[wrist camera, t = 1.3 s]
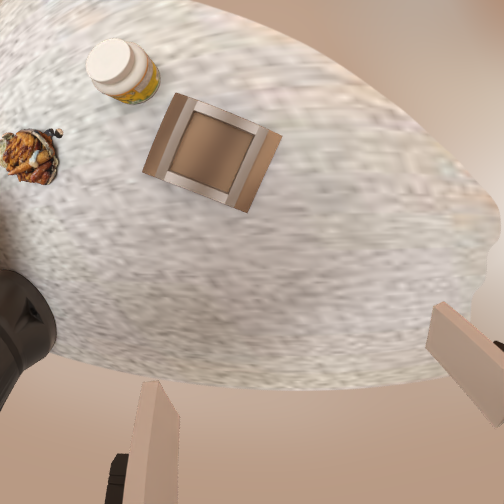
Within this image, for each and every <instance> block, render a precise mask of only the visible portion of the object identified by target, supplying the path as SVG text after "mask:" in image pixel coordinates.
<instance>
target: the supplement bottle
mask: <svg viewBox="0 0 504 504" xmlns="http://www.w3.org/2000/svg"><path fill="white" fill-rule="evenodd" d="M86 71H87V74H88V75H89V77H90V78H91V79H92V82H93V84H94V86H95V87H96V88H97V89H98V90H99V91H100V92H102V93H103V94H106V95H108V96H111V97H113V98H115V99H117V100H119V101H121V102H124V103H127V104H138V103H142V102H144V101H146V100H148V99H149V98H151V97H152V96H153V95H154V93H155V92H156V90H157V89H158V86H159V83H160V73H159V70H158V68H157V67H156V65H155V64H154V63H153V61H152V60H151V59H150V58H149V56H148V55H147V54H146V52H145V51H144V50H143V49H142V48H141V47H140V46H139V45H137V44H135V43H132V42H125V41H124V40H121V39H117V38H112V39H107V40H105V41H103V42H101V43H99V44H98V45H97V46H96V47H94V49H93V50H92V51H91V52H90V54H89V56H88V58H87V61H86Z"/></svg>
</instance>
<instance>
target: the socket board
mask: <svg viewBox="0 0 504 504" xmlns="http://www.w3.org/2000/svg"><path fill="white" fill-rule="evenodd" d="M281 138H282V136H281V135H279V134H277V133H275V132H273V131H271V130H268V129H266V128H264V127H262V126H260V125H257V124H255V123H253V122H251V121H248V120H246V119H244V118H241V117H239V116H237V115H234V114H232V113H229V112H227V111H224V110H222V109H219V108H217V107H214V106H212V105H209V104H206V103H204V102H201V101H198V100H196V99H193V98H190V97H187V96H184V95H181V94H179V93H175V95H174V97H173V99H172V101H171V103H170V105H169V107H168V110H167V112H166V114H165V116H164V119H163V121H162V123H161V125H160V128H159V130H158V132H157V135H156V137H155V140H154V142H153V145H152V147H151V150H150V152H149V155H148V157H147V160H146V163H145V165H144V168H143V171H142V172H143V173H145V174H148V175H151V176H154V177H156V178H159V179H161V180H164V181H167V182H169V183H172V184H175V185H177V186H180V187H182V188H185V189H188V190H190V191H193V192H195V193H198V194H200V195H203V196H205V197H208V198H211V199H213V200H216V201H218V202H221V203H223V204H226V205H228V206H231V207H233V208H236V209H238V210H241V211H243V212H246V213H247V212H248V210H249V208H250V206H251V204H252V201H253V199H254V197H255V195H256V193H257V190H258V188H259V186H260V184H261V182H262V179H263V177H264V175H265V173H266V171H267V168H268V166H269V164H270V162H271V160H272V158H273V155H274V153H275V151H276V149H277V147H278V145H279V143H280V140H281Z"/></svg>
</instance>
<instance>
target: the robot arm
mask: <svg viewBox="0 0 504 504" xmlns="http://www.w3.org/2000/svg"><path fill="white" fill-rule="evenodd" d="M55 340H56V326H55V322H54V318H53V316H52V313H51V311H50V309H49V307H48V305H47V303H46V301H45V300H44V298H43V297H42V295H41V294H40V293H39V291H38V290H37V289H36V288H35V287H34V286H33V285H32V284H31V283H30V282H29V281H28V280H27V279H25V278H24V277H23V276H21V275H19V274H18V273H16V272H13V271H10V270H0V411H1V409H2V407H3V405H4V403H5V402H6V399H7V398H8V396H9V394H10V392H11V391H12V389H13V387H14V385H15V384H16V382H17V380H18V378H19V377H20V375H21V374H22V372H23V371H24V370H26V369H27V368H29V367H30V366H32V365H34V364H35V363H37V362H38V361H40V360H41V359H43V358H44V357H46V355H47V354H48V353H49V351H50V350H51V348H52V347H53V345H54V343H55ZM425 348H426V349H427V350H428V351H429V352H430V353H431V355H432V356H433V357H434V358H435V359H436V360H437V361H438V362H439V363H440V365H441V366H442V367H443V368H444V369H445V370H446V371H447V372H448V374H449V375H450V376H451V377H452V378H453V379H454V380H455V381H456V383H457V384H458V385H459V386H460V387H461V388H462V390H463V391H464V392H465V393H466V394H467V396H468V397H469V398H470V399H471V400H472V401H473V403H474V404H475V405H476V406H477V407H478V409H479V410H480V411H481V412H482V413H483V415H484V416H485V417H486V419H487V420H488V421H489V422H490V424H491V425H492V426H493V427H494V429H497V428H498V427H499V426H500V425H502V424H503V423H504V344H503V343H500V342H498V341H494V342H492V341H491V340H489V339H488V338H487V337H486V336H485V335H484V334H482V333H481V332H480V331H479V330H478V329H477V328H476V327H474V326H473V325H472V324H471V323H470V322H469V321H467V320H466V319H465V318H464V317H463V316H461V315H460V314H459V313H458V312H456V311H455V310H454V309H453V308H452V307H450V306H449V305H448V304H447V303H445V302H441V303H439V304H437V305H435V306H433V311H432V317H431V322H430V327H429V333H428V338H427V342H426V347H425ZM179 429H180V416H179V414H178V413H177V411H176V410H175V408H174V406H173V405H172V403H171V401H170V400H169V398H168V396H167V395H166V393H165V391H164V389H163V388H162V386H161V384H160V382H159V381H150V382H143V384H142V389H141V393H140V398H139V403H138V408H137V413H136V418H135V423H134V429H133V435H132V440H131V446H130V452H129V454H117V455H116V457H115V458H114V460H113V461H112V463H111V468H110V473H109V475H110V477H109V480H108V485H107V492H106V499H105V504H178V454H179Z"/></svg>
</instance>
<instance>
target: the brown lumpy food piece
mask: <svg viewBox="0 0 504 504" xmlns="http://www.w3.org/2000/svg"><path fill="white" fill-rule="evenodd" d="M49 132H50V133H49ZM52 136H56V137H57V138H61V137H62V136H63V131H62V130H61V129H56V131H55V134H54V130H53V129H49V130H48V129H47V130H46V131H45V133H44V134H43V133H42V132H40V131H38V130H33V129H24V130H20V131H19V132H17V133H16V135H15V136H14V134H13V133H5V134H3V135H2V138H4V139H1V140H0V165H1V166H2V167H4V168H6V170H7V171H8V172H9V174H8V175H15V174H16V175H17V176H18V179H19V182H21V181H26V182H30V183H32V182H33V183H36V182H37V183H40V184H42V185H47V184H49V183H50V181H51V180H52V179H53V178H54V176H55V174H56V166H57V165H58V160H57V158H56V157H55V151H54V148H53V147H52V146H53V145H52V140H51V138H50V137H52Z"/></svg>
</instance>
